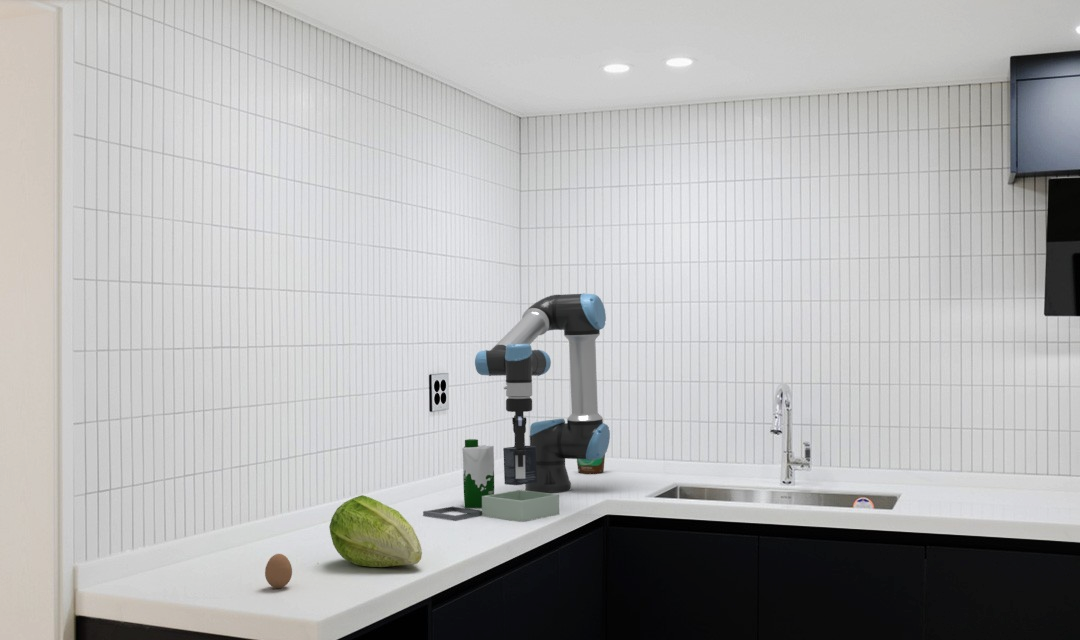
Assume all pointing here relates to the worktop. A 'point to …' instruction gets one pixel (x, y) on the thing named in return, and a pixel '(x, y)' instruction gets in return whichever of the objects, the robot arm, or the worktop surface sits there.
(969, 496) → the worktop surface
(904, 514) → the worktop surface
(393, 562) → the lettuce
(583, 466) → the food container
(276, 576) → the egg
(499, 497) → the bin
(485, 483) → the milk carton
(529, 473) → the box
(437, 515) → the collar
